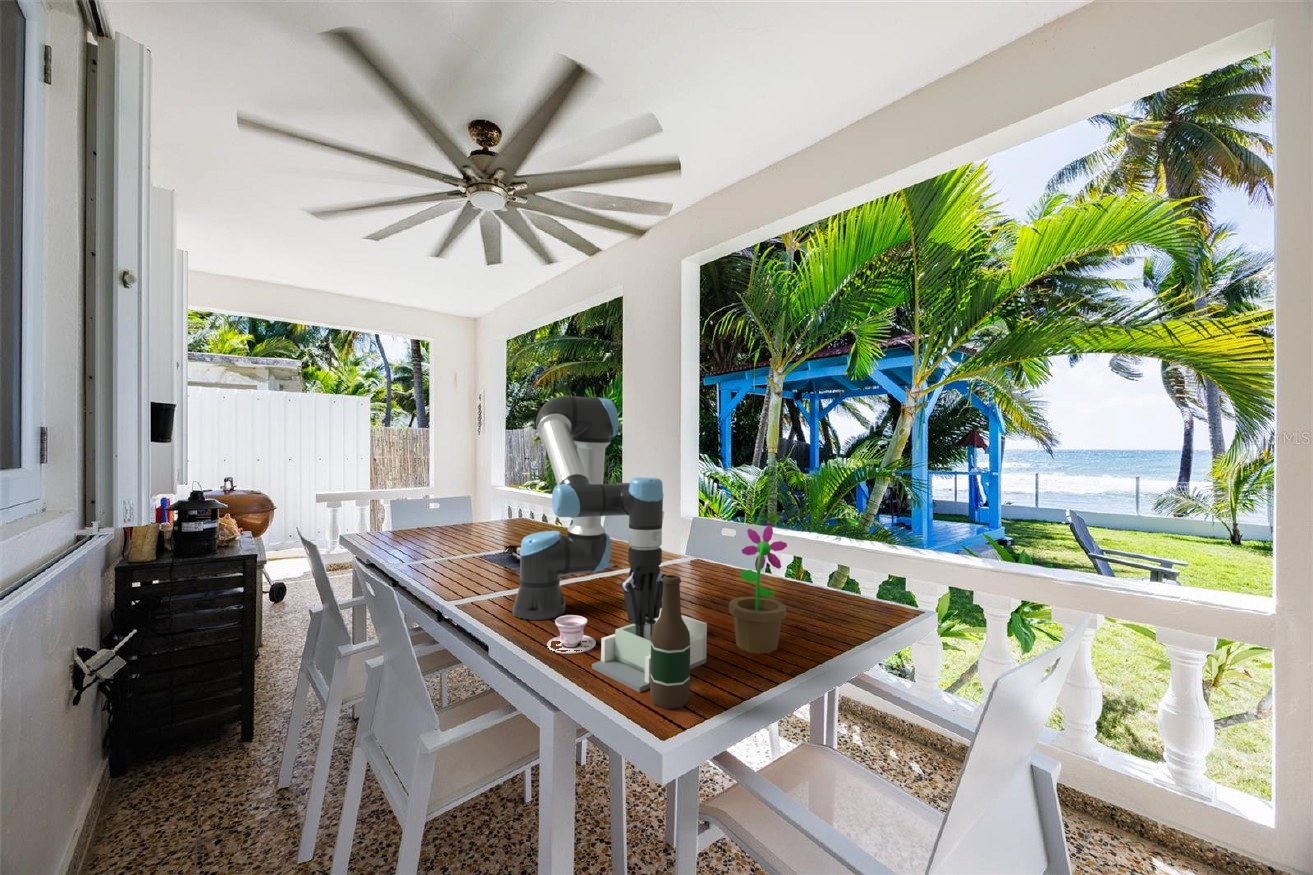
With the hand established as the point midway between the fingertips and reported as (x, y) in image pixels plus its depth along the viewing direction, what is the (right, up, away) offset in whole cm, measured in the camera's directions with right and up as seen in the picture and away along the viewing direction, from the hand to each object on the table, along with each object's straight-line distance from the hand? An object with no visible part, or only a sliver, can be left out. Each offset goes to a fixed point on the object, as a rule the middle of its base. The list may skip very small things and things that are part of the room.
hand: (643, 652), depth 113 cm
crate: (+2, -2, +2) cm, 4 cm away
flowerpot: (+28, -5, +14) cm, 32 cm away
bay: (+1, -4, +1) cm, 4 cm away
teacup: (-18, -4, +13) cm, 23 cm away
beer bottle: (+5, -3, -14) cm, 16 cm away
